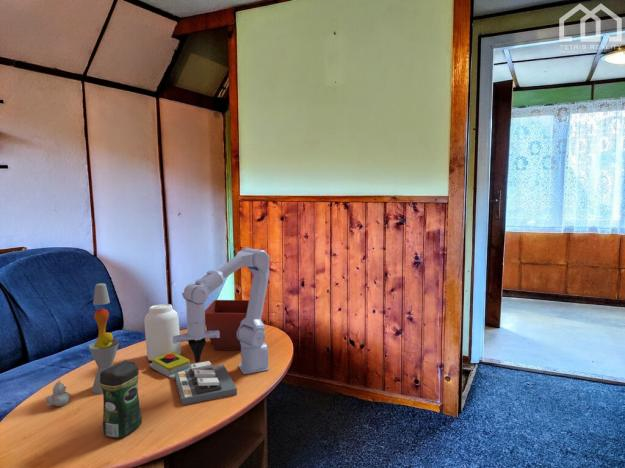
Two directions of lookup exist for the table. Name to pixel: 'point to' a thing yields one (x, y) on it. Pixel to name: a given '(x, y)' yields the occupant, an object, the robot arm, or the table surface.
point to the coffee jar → (120, 399)
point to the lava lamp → (102, 337)
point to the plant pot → (226, 322)
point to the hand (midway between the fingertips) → (197, 361)
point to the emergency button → (170, 364)
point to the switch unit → (196, 393)
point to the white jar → (161, 331)
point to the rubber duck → (58, 395)
